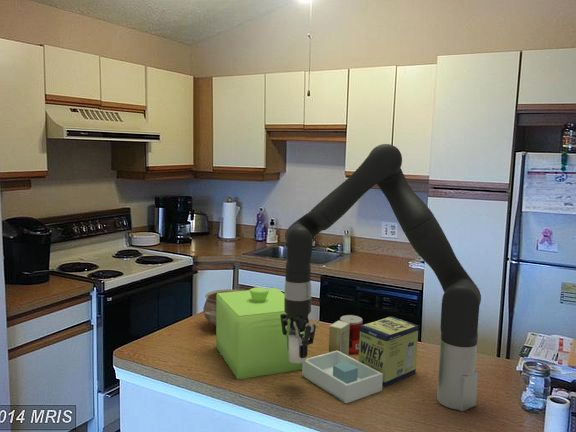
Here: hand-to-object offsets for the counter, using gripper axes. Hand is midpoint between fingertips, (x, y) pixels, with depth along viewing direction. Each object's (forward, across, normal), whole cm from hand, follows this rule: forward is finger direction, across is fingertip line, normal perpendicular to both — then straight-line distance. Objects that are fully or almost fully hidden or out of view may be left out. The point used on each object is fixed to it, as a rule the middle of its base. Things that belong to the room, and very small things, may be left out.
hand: (297, 353), depth 139 cm
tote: (+10, -5, -12) cm, 16 cm away
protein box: (+10, -9, -28) cm, 31 cm away
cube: (+9, -7, -12) cm, 17 cm away
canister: (+9, +22, -1) cm, 24 cm away
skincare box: (+10, +7, -22) cm, 25 cm away
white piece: (+2, 0, 0) cm, 2 cm away
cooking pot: (+9, +53, -7) cm, 54 cm away
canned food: (+10, +11, -31) cm, 35 cm away
